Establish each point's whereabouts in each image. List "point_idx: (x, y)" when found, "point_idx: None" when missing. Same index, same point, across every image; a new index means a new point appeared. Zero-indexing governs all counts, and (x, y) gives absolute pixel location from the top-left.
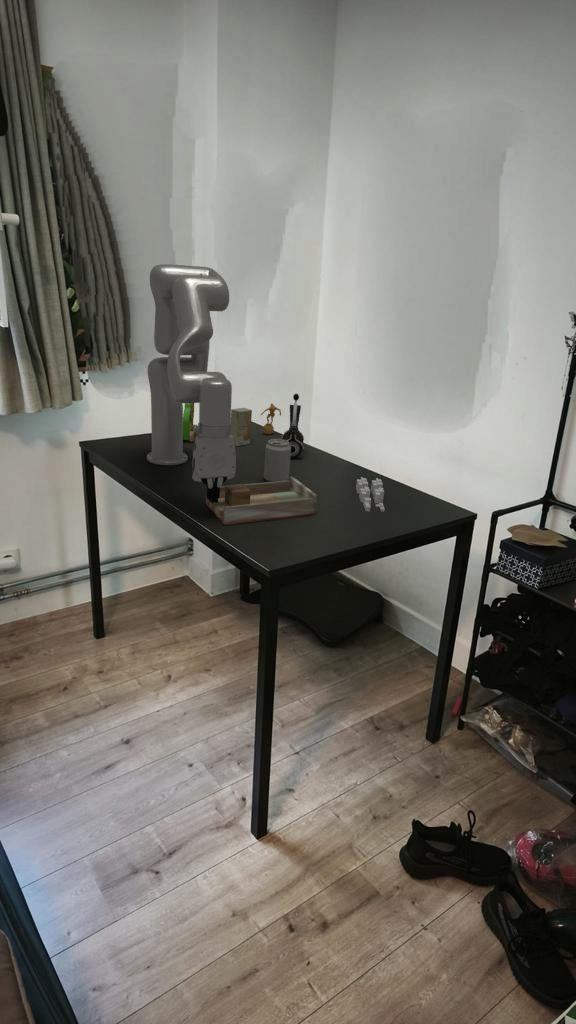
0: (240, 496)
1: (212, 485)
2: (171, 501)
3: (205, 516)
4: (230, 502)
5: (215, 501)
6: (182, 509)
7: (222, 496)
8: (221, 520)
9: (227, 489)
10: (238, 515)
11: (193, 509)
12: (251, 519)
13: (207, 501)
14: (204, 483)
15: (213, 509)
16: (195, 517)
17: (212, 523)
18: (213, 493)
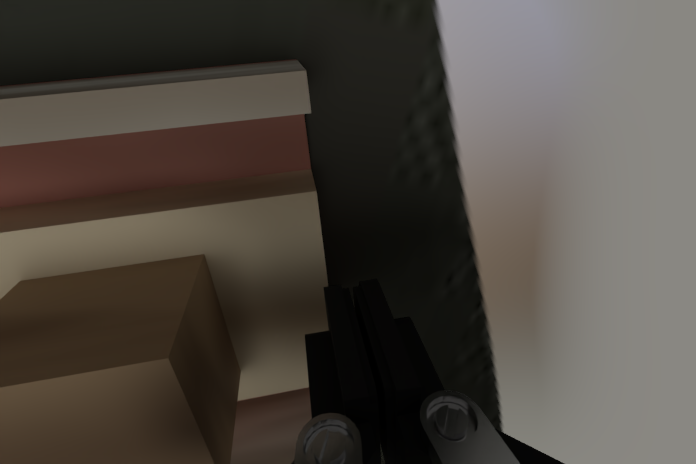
0: (76, 331)
1: (429, 430)
2: (484, 403)
3: (387, 233)
4: (205, 294)
5: (345, 292)
6: (474, 327)
7: (242, 429)
8: (306, 133)
9: (212, 436)
10: (150, 77)
11: (421, 325)
12: (28, 84)
13: None
14: (535, 453)
15: None
16: (450, 225)
17: (377, 112)
18: (387, 343)
